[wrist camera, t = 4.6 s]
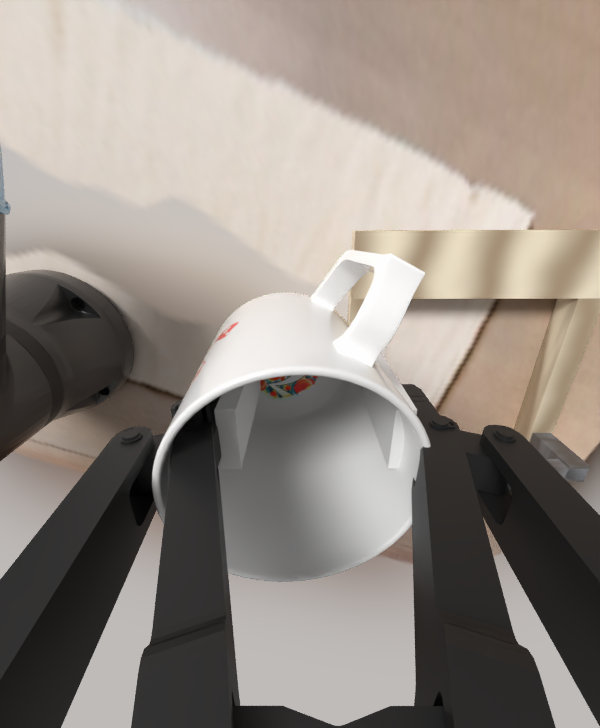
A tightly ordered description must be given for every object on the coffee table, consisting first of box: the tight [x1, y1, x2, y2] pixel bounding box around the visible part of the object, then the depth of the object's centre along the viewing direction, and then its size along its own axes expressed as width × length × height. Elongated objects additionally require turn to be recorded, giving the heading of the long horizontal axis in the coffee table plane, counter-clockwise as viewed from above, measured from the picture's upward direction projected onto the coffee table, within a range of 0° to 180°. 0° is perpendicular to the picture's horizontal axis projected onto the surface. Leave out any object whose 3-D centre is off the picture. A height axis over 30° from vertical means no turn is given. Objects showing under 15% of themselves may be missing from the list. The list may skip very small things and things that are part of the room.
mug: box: [152, 250, 431, 582], centre depth 14 cm, size 12×9×11 cm
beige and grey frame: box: [347, 230, 600, 482], centre depth 31 cm, size 24×24×8 cm
